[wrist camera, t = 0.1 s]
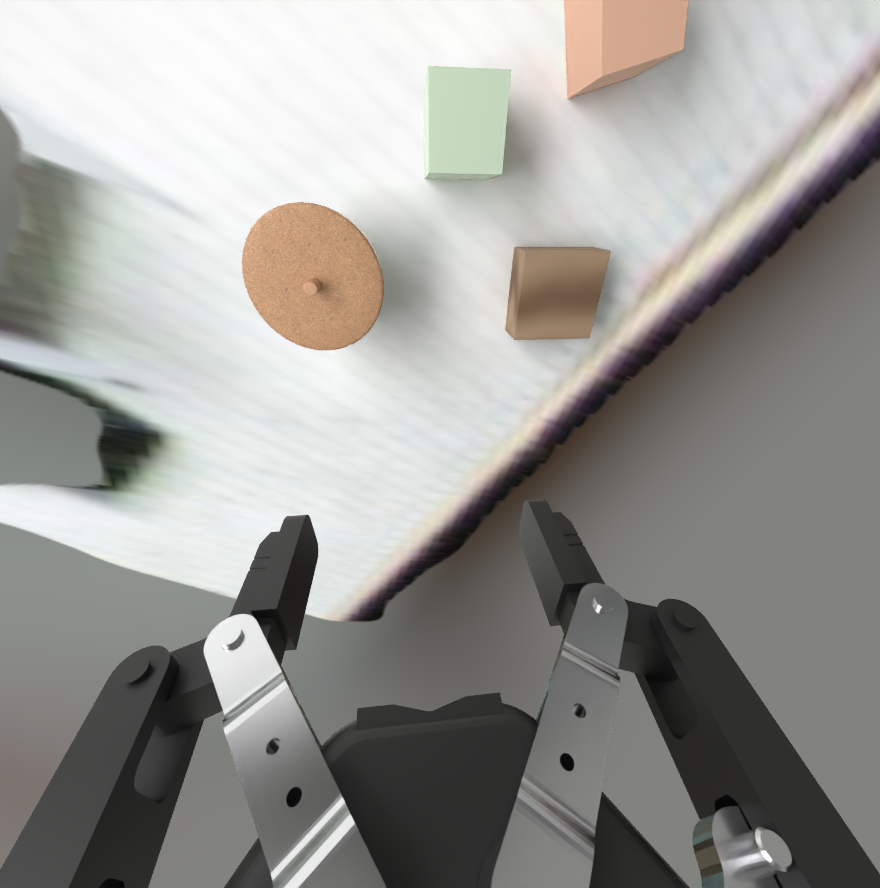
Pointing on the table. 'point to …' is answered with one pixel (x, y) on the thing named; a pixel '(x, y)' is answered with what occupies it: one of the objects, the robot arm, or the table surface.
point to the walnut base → (554, 291)
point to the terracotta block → (619, 39)
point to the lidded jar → (313, 276)
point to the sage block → (465, 122)
